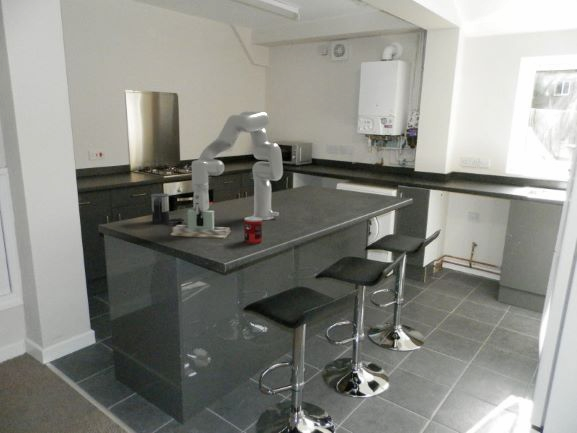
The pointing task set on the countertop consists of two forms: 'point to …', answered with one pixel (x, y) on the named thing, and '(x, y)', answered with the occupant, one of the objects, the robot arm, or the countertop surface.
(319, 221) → the countertop surface
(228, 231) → the door track
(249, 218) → the canned food
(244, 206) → the countertop surface
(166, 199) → the milk frother
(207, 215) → the door panel
